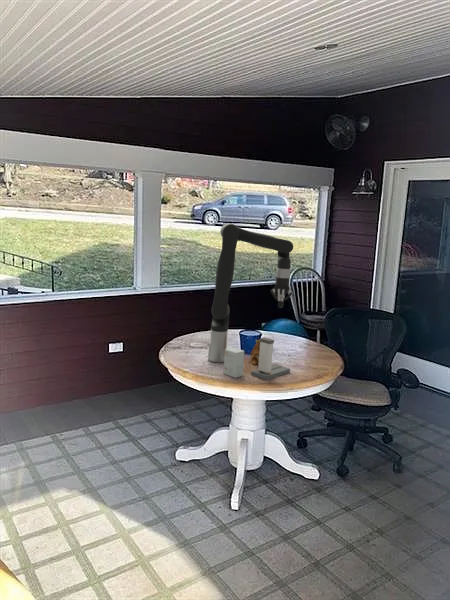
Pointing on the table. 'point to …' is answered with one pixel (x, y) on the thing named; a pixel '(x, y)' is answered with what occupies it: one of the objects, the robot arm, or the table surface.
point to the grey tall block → (265, 354)
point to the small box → (234, 362)
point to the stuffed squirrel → (255, 353)
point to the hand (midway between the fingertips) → (280, 307)
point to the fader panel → (275, 371)
